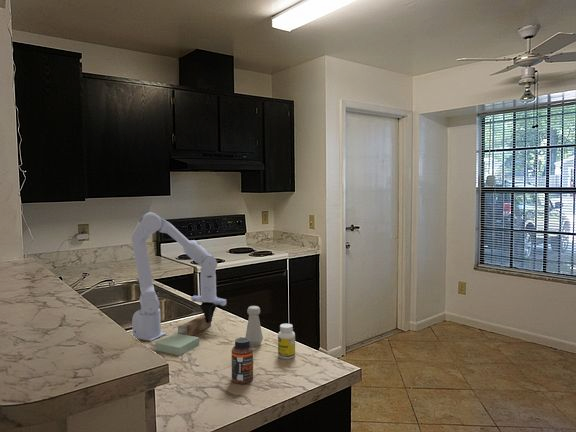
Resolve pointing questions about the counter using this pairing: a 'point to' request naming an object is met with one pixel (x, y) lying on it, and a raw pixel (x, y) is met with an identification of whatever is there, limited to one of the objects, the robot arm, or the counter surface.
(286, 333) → the supplement bottle
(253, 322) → the salt shaker
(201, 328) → the folding leg
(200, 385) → the counter surface
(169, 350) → the stool seat
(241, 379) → the supplement bottle
